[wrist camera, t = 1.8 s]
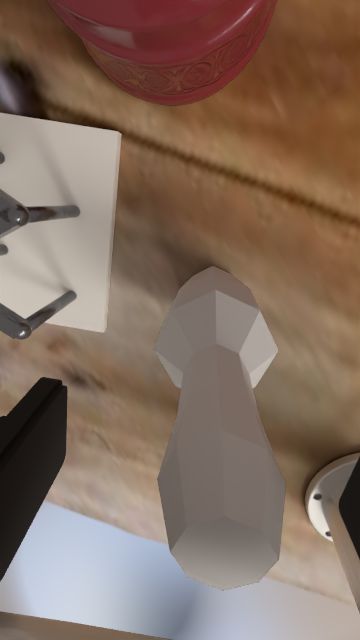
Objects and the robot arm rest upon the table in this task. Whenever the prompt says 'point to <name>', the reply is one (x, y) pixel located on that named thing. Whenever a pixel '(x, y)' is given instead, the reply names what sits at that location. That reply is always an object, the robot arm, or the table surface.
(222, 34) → the canister
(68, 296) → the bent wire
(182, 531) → the faceted bottle
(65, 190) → the wire board
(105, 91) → the table surface
